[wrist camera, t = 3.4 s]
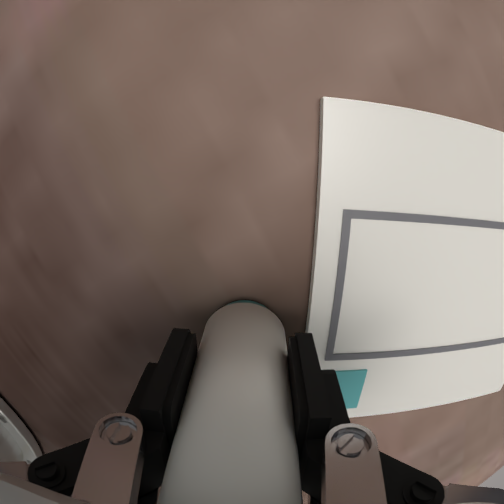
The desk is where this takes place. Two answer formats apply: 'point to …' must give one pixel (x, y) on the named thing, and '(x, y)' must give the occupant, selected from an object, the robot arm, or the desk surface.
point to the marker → (236, 416)
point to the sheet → (407, 257)
